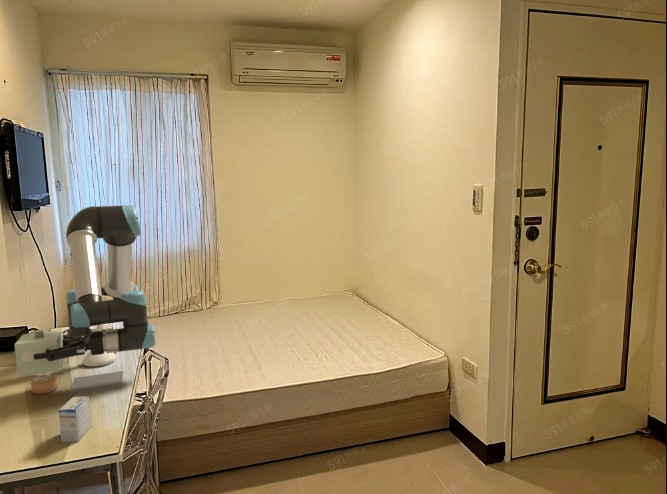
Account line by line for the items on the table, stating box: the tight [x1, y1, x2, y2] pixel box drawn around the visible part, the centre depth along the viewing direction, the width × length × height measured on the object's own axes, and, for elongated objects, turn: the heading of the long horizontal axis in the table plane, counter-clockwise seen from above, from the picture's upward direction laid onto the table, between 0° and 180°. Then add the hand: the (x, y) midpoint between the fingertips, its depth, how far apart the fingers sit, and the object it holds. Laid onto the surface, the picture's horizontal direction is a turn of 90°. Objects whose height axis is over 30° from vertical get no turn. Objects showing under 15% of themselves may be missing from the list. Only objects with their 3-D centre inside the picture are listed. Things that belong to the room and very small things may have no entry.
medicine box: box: [58, 396, 92, 443], centre depth 127 cm, size 8×4×9 cm, turn 5°
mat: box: [67, 370, 124, 396], centre depth 161 cm, size 15×15×1 cm
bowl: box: [30, 373, 59, 395], centre depth 155 cm, size 7×7×5 cm
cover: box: [14, 329, 66, 378], centre depth 153 cm, size 11×11×12 cm
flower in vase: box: [81, 295, 118, 368], centre depth 178 cm, size 13×11×25 cm
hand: (26, 351), depth 152 cm, fingers closed on cover, 11 cm apart
